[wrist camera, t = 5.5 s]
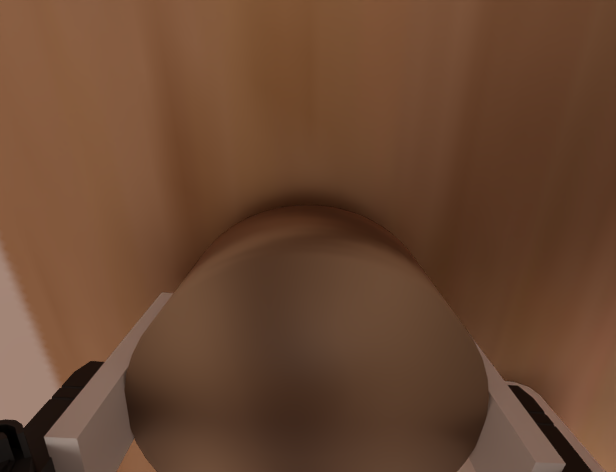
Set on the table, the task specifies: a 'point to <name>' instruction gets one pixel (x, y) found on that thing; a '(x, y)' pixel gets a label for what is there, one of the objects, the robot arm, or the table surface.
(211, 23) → the table surface
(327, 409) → the walnut lid
